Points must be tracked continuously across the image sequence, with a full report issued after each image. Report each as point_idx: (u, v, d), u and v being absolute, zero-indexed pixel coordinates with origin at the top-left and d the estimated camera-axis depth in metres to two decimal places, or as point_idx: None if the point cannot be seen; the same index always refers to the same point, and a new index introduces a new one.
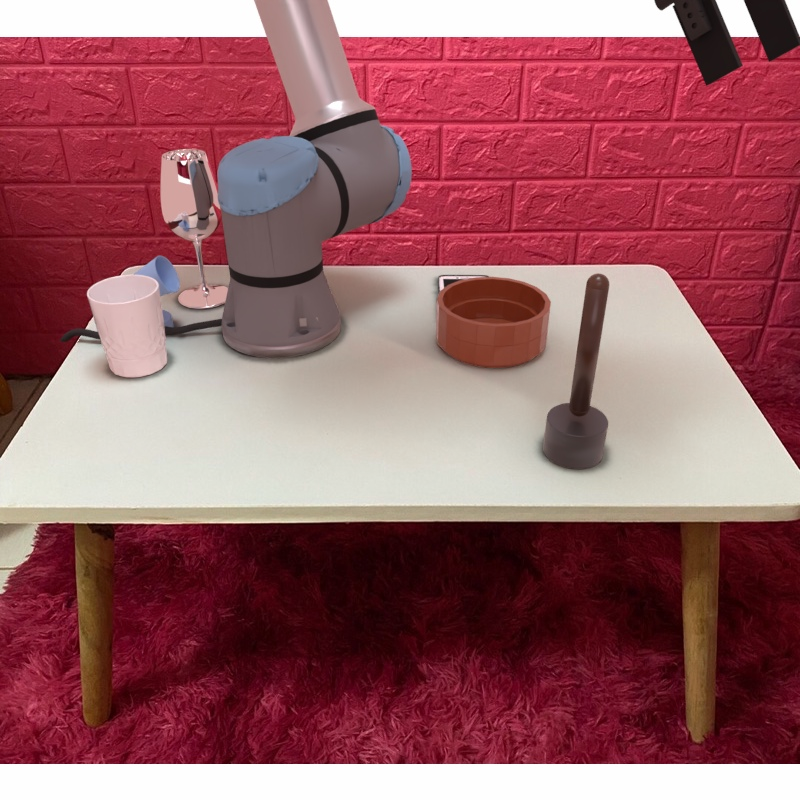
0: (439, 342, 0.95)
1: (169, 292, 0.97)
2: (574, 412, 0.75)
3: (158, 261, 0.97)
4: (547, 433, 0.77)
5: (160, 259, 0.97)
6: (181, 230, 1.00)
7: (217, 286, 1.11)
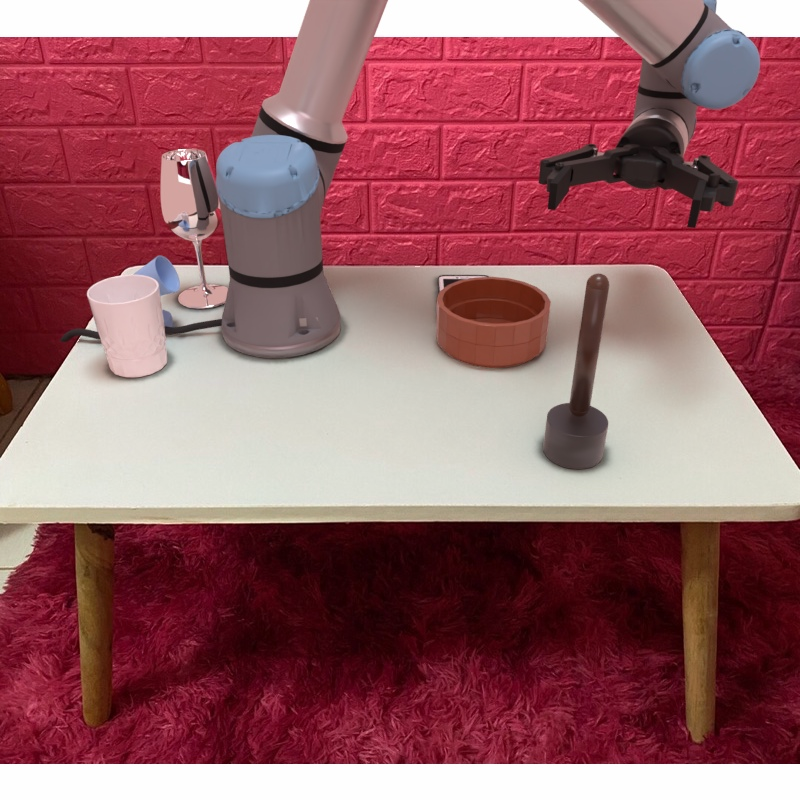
0: (439, 342, 0.95)
1: (169, 292, 0.97)
2: (574, 412, 0.75)
3: (158, 261, 0.97)
4: (547, 433, 0.77)
5: (160, 259, 0.97)
6: (181, 230, 1.00)
7: (217, 286, 1.11)
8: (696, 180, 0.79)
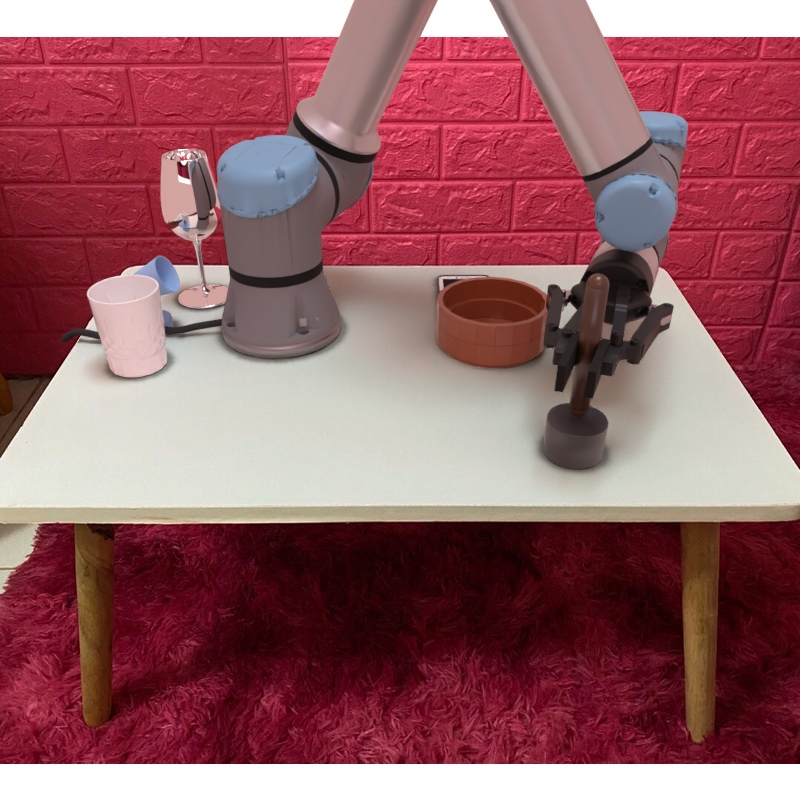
0: (439, 342, 0.95)
1: (169, 292, 0.97)
2: (574, 412, 0.75)
3: (158, 261, 0.97)
4: (547, 433, 0.77)
5: (160, 259, 0.97)
6: (181, 230, 1.00)
7: (217, 286, 1.11)
8: None
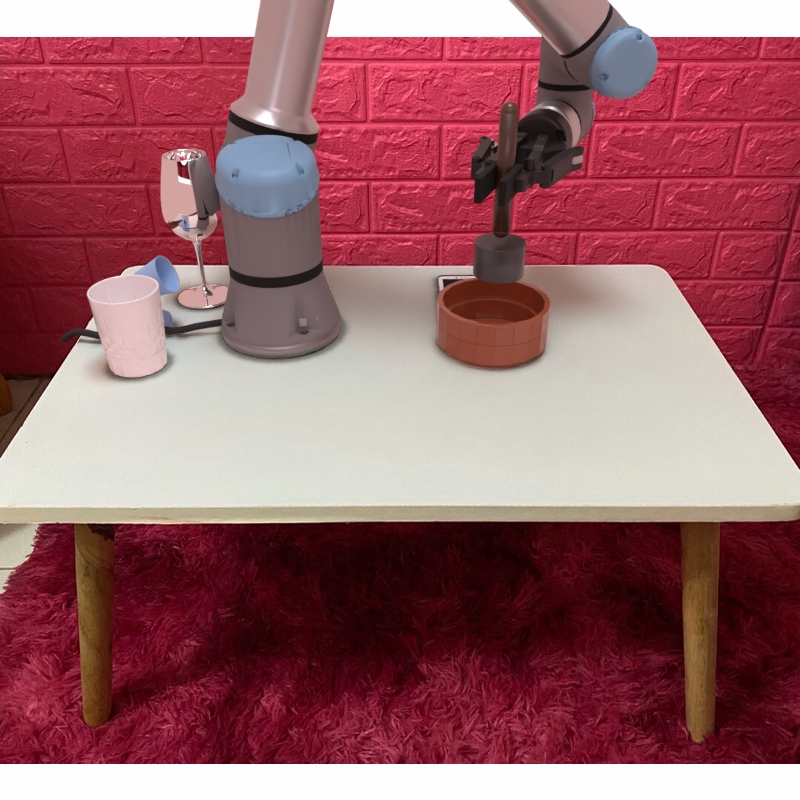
0: (439, 342, 0.95)
1: (169, 292, 0.97)
2: (496, 233, 0.88)
3: (158, 261, 0.97)
4: (474, 254, 0.90)
5: (160, 259, 0.97)
6: (181, 230, 1.00)
7: (217, 286, 1.11)
8: None
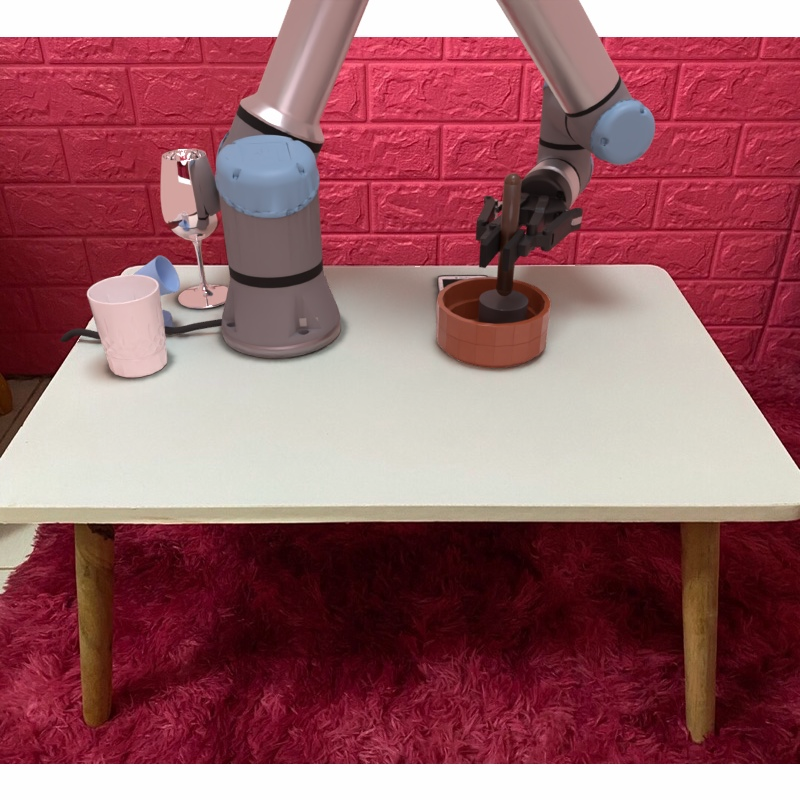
0: (439, 342, 0.95)
1: (169, 292, 0.97)
2: (500, 292, 0.94)
3: (158, 261, 0.97)
4: (479, 311, 0.95)
5: (160, 259, 0.97)
6: (181, 230, 1.00)
7: (217, 286, 1.11)
8: None
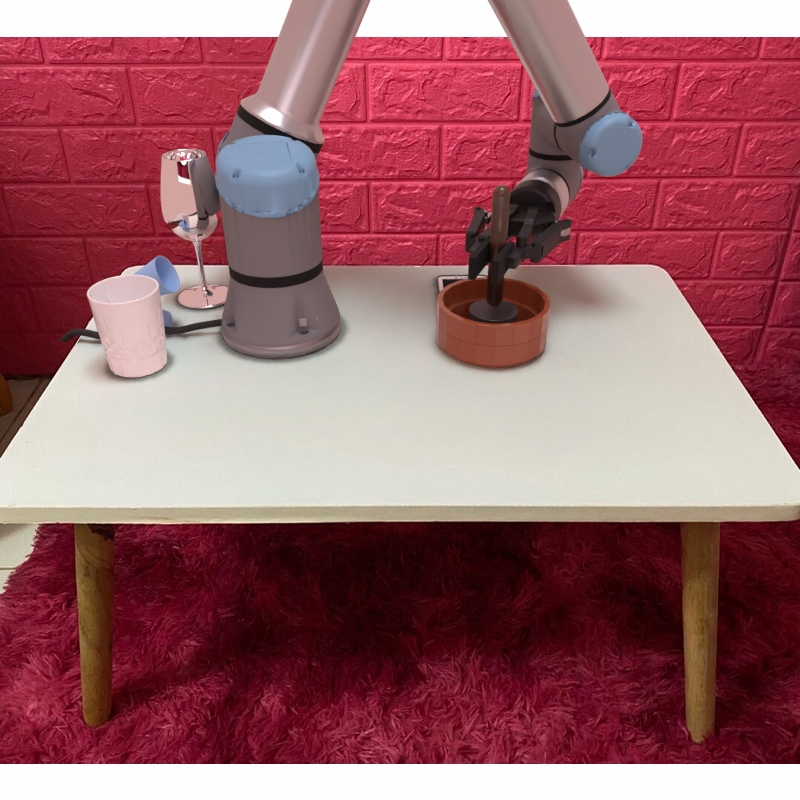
0: (439, 342, 0.95)
1: (169, 292, 0.97)
2: (489, 302, 0.94)
3: (158, 261, 0.97)
4: None
5: (160, 259, 0.97)
6: (181, 230, 1.00)
7: (217, 286, 1.11)
8: None
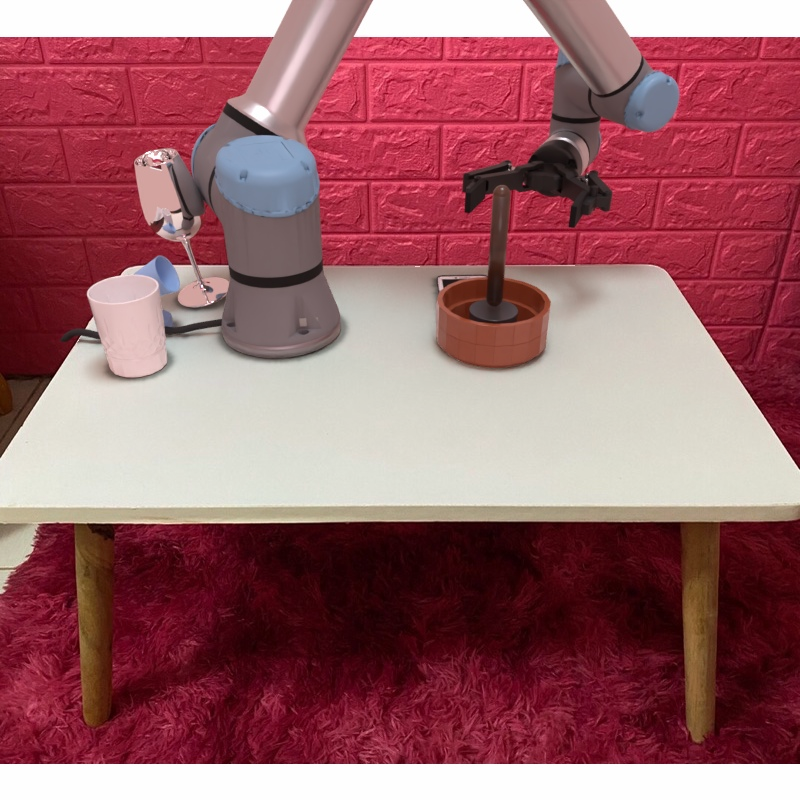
0: (439, 342, 0.95)
1: (169, 292, 0.97)
2: (489, 302, 0.94)
3: (158, 261, 0.97)
4: None
5: (160, 259, 0.97)
6: (166, 234, 0.99)
7: (215, 279, 1.10)
8: (581, 190, 1.01)
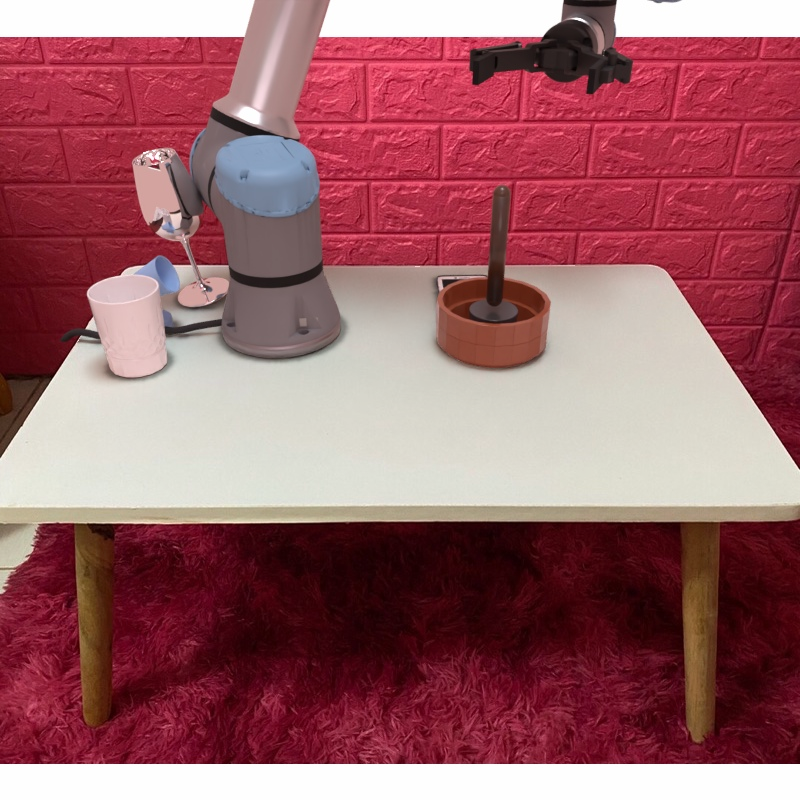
0: (439, 342, 0.95)
1: (169, 292, 0.97)
2: (489, 302, 0.94)
3: (158, 261, 0.97)
4: None
5: (160, 259, 0.97)
6: (165, 233, 0.99)
7: (215, 279, 1.10)
8: None
